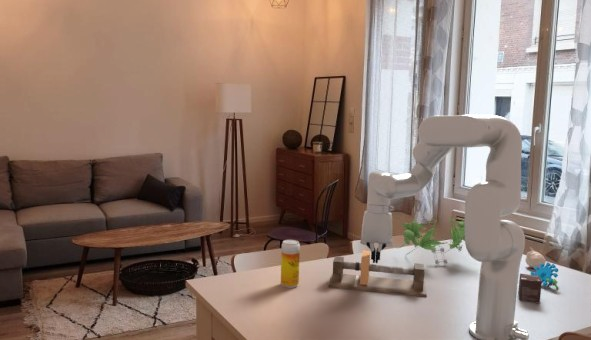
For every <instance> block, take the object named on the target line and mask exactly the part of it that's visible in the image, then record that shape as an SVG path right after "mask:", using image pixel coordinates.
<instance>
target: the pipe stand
mask: <svg viewBox="0 0 591 340" xmlns="http://www.w3.org/2000/svg"><path fill="white" fill-rule="evenodd" d="M344 260H345V257H344V256H338V255H337V256H336V255H335V256H334V258H333V261H332V273H331V276H330V279H329V281H328V284H327V285H328V286H327V288H334V289H335V288H336V289H345V290H355V291H367V292H375V293H383V294H397V295H403V296H414V297H425V298H427V297H428V295H427V294H428V293H427V289H426V282H425V265H424V263H418V262H414V265H413V267H405V266H397V265H396V266H395V265H383V264H376V263H375V264H374V263H370V264H369V272H375V273H384V274H385V273H386V274H394V275H395V274H398V275H405V276H413V279H410V280H409V279H401V278H392V277H391V278H389V277H380V276H379V277H377V276H370V275H369V279H368V285H363V284H360V276H361V274H360V275H359V274H347V273H344V270H351V271H352V270H353V271H357V272H359V271H361V262H357V261H355V262H351V261H344Z"/></svg>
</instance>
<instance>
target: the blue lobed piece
mask: <svg viewBox="0 0 591 340" xmlns="http://www.w3.org/2000/svg"><path fill="white" fill-rule="evenodd" d="M533 269H534V270H531V271H530V272H529V275H536V276H540V279H541V281H542V285H543V286H546V287H547V286H548V285H550V286H554V287H555V288H556V289H557V290H559V289H560V287H559V286H558V285H557V284H558V283H559V282H558V281H557V279H556V278H558V276H559V275H558V272H559V268H558V267H557V266H556V265H555V264H554V263H550V262H546V263H545V265H544V264H543V263H542V264H540V269H539V268H538V267H537V266H536V267H534V268H533ZM534 271H535V272H534ZM552 277H554V278H552Z"/></svg>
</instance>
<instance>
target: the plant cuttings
mask: <svg viewBox="0 0 591 340" xmlns="http://www.w3.org/2000/svg"><path fill="white" fill-rule="evenodd" d="M431 221H434V223H433V225H430V223H431ZM454 221H455V222H454ZM437 222H438V220H437V219H430V220H429V221H428V223H427V224H428V225H429V226H430V227H431V228H430V229H428V230H427V227H424V225H423V223H422V222H421V223H419V222H418V221H417V220H413V221H412V222H410V223H409V222H403V223H402V224H401V228H406V229H404V230H403V237H404V238H403V239H404V242H403V243H404V244H402V245H401V246H399V247H397V249H401V248H403V247H404V245H405V244H407V245H410V244H411V243H410V242H412V244H413V245H414V248H415V249H413V250H411V251H409V252H408V253H406V254H405V256H407V255H409V254H411V253H412V252H413V251H415V250H416V249H417V248H422V249H424V250H427V251H430V252H431V253H434V255H433V256H434V257H433V258H434V260H435V264H436V265H437V266H439V267H440V264H439V263H443V265H442V267H444V266H445V265H448V264H449V263H448V260H447V258H445V257H444V256H445V255H444V254H445V253H447V252H448V251H450V250H452V249H455V248H456V249H458V252H459V253H460V252H462V249H463V245H461V243H463V241H464V242H465V219H463V220H461V221H457V223H456V219H455V218H450V219H449V223H450V224H452V226H453V227H454V228H453V227H452V226H450V235H451V239H450V241H449V242H451V243H448V242H441V241H438V240H436V239H435V238H436V237H437V231H436V229H435V228H436V224H437ZM457 225H458V226H457ZM421 230H424V231H426V230H427V232H426V233H425V234H424V235H423V236H422V233H421V232H420V231H421ZM434 234H436V235H435V236H434ZM445 244H448V246H449V249H448V250H446V251H445V248H444V247H442V246H441V245H445ZM436 246H438V247H439V251H440V254H441V255H440V256H441V258H442V261H441V260H439V259H438V257H437V252H436V251H438V249H437V248H436Z"/></svg>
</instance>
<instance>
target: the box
mask: <svg viewBox="0 0 591 340" xmlns="http://www.w3.org/2000/svg"><path fill="white" fill-rule="evenodd" d="M542 285H543V283H542V281H541V279H540V276H536V275H531V274H526V273H519V278H518V288H517V295H518V300H519V301H521V302H529V303H537V304H540V303H541V296H542V295H541V292H542Z"/></svg>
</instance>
